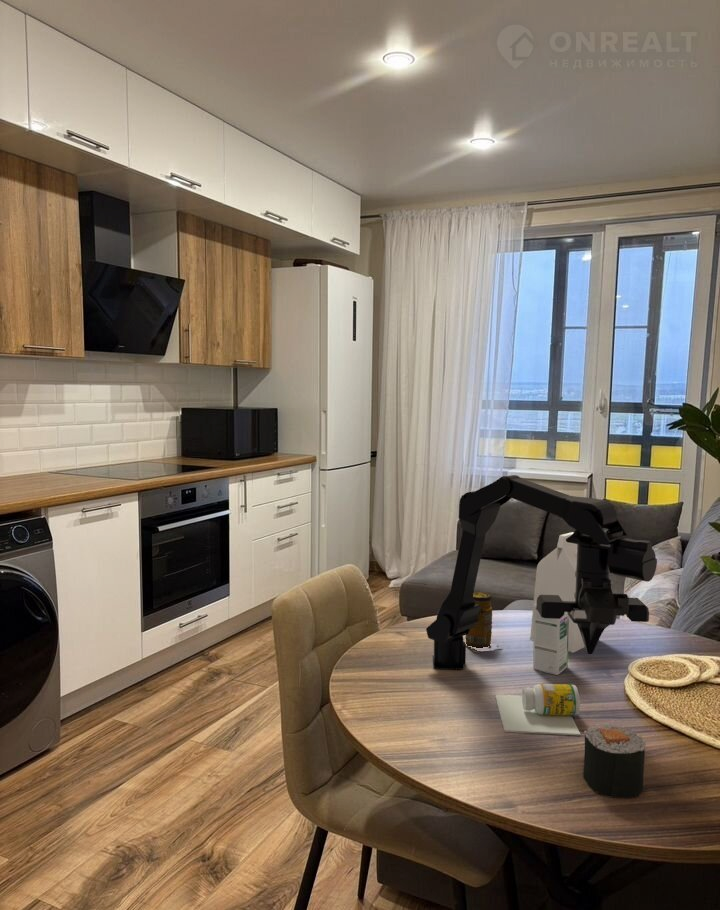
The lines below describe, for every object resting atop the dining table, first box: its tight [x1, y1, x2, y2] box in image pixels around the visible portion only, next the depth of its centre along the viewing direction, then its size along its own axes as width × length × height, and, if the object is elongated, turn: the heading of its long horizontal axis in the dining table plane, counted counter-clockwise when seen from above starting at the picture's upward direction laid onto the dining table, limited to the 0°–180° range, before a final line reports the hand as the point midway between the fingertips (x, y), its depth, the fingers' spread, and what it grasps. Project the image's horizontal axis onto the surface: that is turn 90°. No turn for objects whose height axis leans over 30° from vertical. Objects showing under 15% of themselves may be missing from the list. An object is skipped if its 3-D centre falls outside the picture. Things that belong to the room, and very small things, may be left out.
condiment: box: [463, 591, 498, 653], centre depth 157 cm, size 7×8×12 cm
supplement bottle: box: [521, 683, 581, 716], centre depth 123 cm, size 5×5×10 cm
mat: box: [494, 694, 581, 736], centre depth 124 cm, size 13×14×1 cm
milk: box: [529, 531, 585, 653], centre depth 161 cm, size 12×12×26 cm
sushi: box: [582, 723, 647, 799], centre depth 102 cm, size 8×8×8 cm
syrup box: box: [532, 604, 569, 676], centre depth 144 cm, size 6×6×14 cm
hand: (589, 653), depth 122 cm, fingers closed
